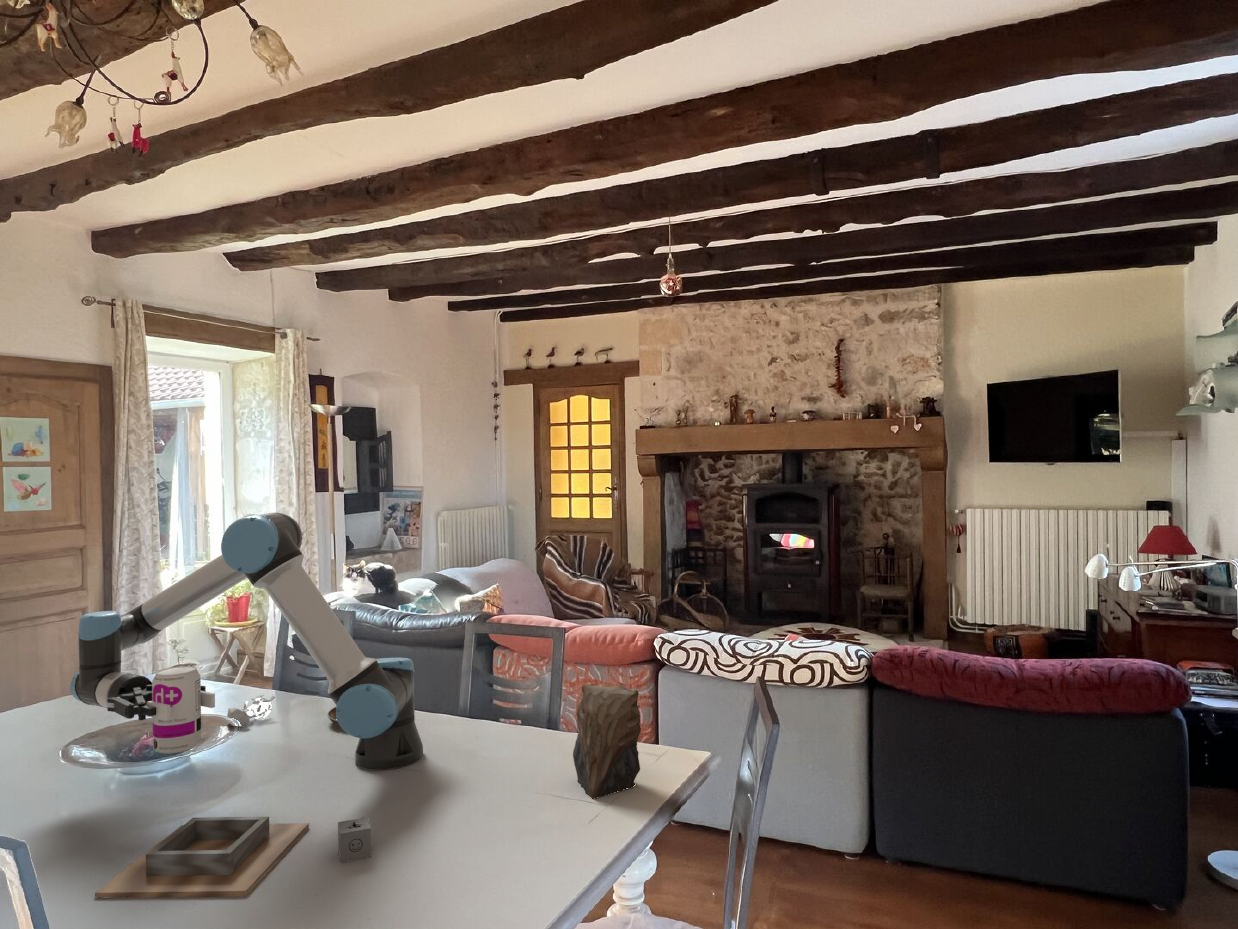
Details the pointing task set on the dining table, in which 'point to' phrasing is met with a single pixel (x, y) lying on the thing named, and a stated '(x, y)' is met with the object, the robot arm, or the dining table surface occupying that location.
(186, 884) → the collar board
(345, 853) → the dice cube
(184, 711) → the supplement can
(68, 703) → the dining table surface
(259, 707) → the figurine
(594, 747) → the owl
